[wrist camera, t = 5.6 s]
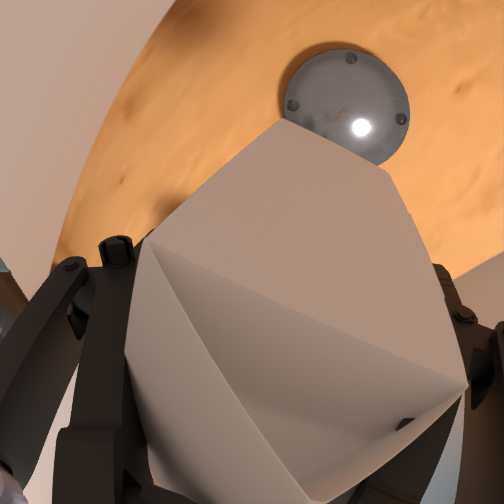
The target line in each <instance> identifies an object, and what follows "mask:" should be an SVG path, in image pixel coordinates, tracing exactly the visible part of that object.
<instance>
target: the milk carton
mask: <svg viewBox="0 0 504 504" xmlns="http://www.w3.org/2000/svg"><path fill="white" fill-rule="evenodd" d="M124 353H125V357H126V362H127V367H128V371H129V376H130V380H131V385H132V389H133V393H134V397H135V401H136V405H137V409H138V413H139V417H140V420H141V424H142V428H143V431H144V435H145V438H146V441H147V445H148V461H149V467H150V469H151V471H152V473H153V474H154V476H155V478H156V479H157V481H158V483H159V485H160V486H161V488H164V489H167V490H170V491H173V492H175V493H178V494H181V495H184V496H186V497H187V498H189V499H191V500H192V501H194V502H196V503H198V504H347V502H348V501H349V499H350V498H351V496H352V495H353V493H354V492H355V490H356V489H357V487H358V485H359V484H360V482H361V481H362V480H363V479H365V478H366V477H368V476H369V475H370V474H372V473H373V472H375V471H376V470H377V469H379V468H380V467H381V466H383V465H384V464H385V463H387V462H388V461H389V460H390V459H392V458H393V457H394V456H395V455H397V454H398V453H399V452H400V451H402V450H403V449H404V448H405V447H407V446H408V445H409V444H410V443H411V442H412V441H414V440H415V439H416V438H417V437H418V436H419V435H420V434H422V433H423V432H424V431H425V430H426V429H427V428H428V427H429V426H430V425H432V424H433V423H434V422H435V421H436V420H437V419H438V418H439V417H440V416H441V415H442V414H443V413H444V412H445V411H446V410H447V409H448V408H449V407H450V406H451V405H452V404H453V403H454V402H455V401H456V400H457V399H458V398H459V397H460V396H461V395H462V394H463V392H464V391H465V390H466V389H467V388H468V386H469V384H468V382H467V377H466V372H465V368H464V363H463V359H462V356H461V352H460V348H459V345H458V341H457V338H456V334H455V331H454V328H453V325H452V322H451V318H450V315H449V312H448V309H447V306H446V304H445V301H444V298H443V295H442V292H441V289H440V287H439V284H438V281H437V279H436V276H435V273H434V271H433V268H432V266H431V263H430V261H429V258H428V256H427V253H426V251H425V249H424V246H423V244H422V242H421V239H420V237H419V235H418V232H417V230H416V228H415V226H414V224H413V221H412V219H411V217H410V215H409V213H408V211H407V209H406V207H405V204H404V202H403V200H402V198H401V196H400V194H399V192H398V190H397V188H396V186H395V184H394V182H393V181H392V179H391V177H390V175H389V173H388V172H386V171H385V170H383V169H381V168H380V167H378V166H376V165H374V164H373V163H371V162H369V161H367V160H365V159H364V158H362V157H360V156H358V155H356V154H354V153H353V152H351V151H349V150H347V149H345V148H343V147H341V146H339V145H337V144H335V143H334V142H332V141H330V140H328V139H326V138H324V137H322V136H320V135H318V134H315V133H313V132H311V131H309V130H307V129H305V128H303V127H301V126H299V125H297V124H294V123H292V122H290V121H288V120H286V119H283V118H281V119H280V120H278V121H277V122H276V123H275V124H273V125H272V126H271V127H270V128H268V129H267V130H266V131H265V132H264V133H262V134H261V135H260V136H259V137H257V138H256V139H255V140H254V141H253V142H251V143H250V144H249V145H248V146H247V147H245V148H244V149H243V150H242V151H241V152H239V153H238V154H237V155H236V156H235V157H234V158H232V159H231V160H230V161H229V162H228V163H227V164H225V165H224V166H223V167H222V168H221V169H220V170H219V171H217V172H216V173H215V174H214V175H213V176H212V177H211V178H209V179H208V180H207V181H206V182H205V183H204V184H203V185H202V186H200V187H199V188H198V189H197V190H196V191H195V192H194V193H193V194H192V195H191V196H189V197H188V198H187V199H186V200H185V201H184V202H183V203H182V204H181V205H180V206H179V207H178V208H176V209H175V210H174V211H173V212H172V213H171V214H170V215H169V216H168V217H167V218H166V219H165V220H164V221H163V222H162V223H161V224H160V225H159V226H157V227H156V228H155V229H154V230H153V231H152V232H151V233H150V234H149V235H148V236H147V237H146V238H144V240H143V243H142V247H141V251H140V256H139V261H138V266H137V271H136V276H135V282H134V288H133V294H132V300H131V306H130V313H129V320H128V327H127V335H126V342H125V351H124ZM403 418H415V419H414V420H413V421H412V422H410V423H409V424H407V425H406V426H404V427H403V428H401V429H400V430H398V431H397V432H396V428H397V427H398V425H399V424H400V422H401V421H402V419H403Z"/></svg>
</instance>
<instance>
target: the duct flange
mask: <svg viewBox="0 0 504 504" xmlns="http://www.w3.org/2000/svg"><path fill="white" fill-rule="evenodd" d="M284 115H285V119H286V120H288V121H290V122H292V123H294V124H297V125H299V126H301V127H303V128H305V129H307V130H309V131H311V132H313V133H315V134H318V135H320V136H322V137H324V138H326V139H328V140H330V141H332V142H334V143H335V144H337V145H339V146H341V147H343V148H345V149H347V150H349V151H351V152H353V153H354V154H356V155H358V156H360V157H362V158H364V159H365V160H367V161H369V162H371V163H373V164H374V165H376V166H378V165H380V164H382V163H383V162H385V161H386V160H388V159H389V158H390V157H391V156H392V155H393V154H394V153H395V152H396V151H397V150H398V149H399V147H400V146H401V144H402V143H403V140H404V138H405V136H406V134H407V131H408V127H409V121H410V108H409V102H408V97H407V94H406V92H405V89H404V87H403V85H402V83H401V81H400V80H399V79H398V77H397V76H396V74H395V73H394V72H393V71H392V70H391V69H390V68H389V67H388V66H387V65H385V64H384V63H383V62H382V61H380V60H378V59H377V58H375V57H373V56H371V55H369V54H366V53H363V52H360V51H355V50H348V49H339V50H331V51H326V52H323V53H321V54H318V55H316V56H314V57H312V58H310V59H309V60H308V61H306V62H305V63H304V64H303V65H302V66H301V67H300V68H298V70H297V71H296V72H295V74H294V75H293V77H292V78H291V80H290V82H289V84H288V87H287V90H286V94H285V99H284Z"/></svg>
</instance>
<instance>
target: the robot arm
mask: <svg viewBox="0 0 504 504" xmlns="http://www.w3.org/2000/svg"><path fill="white" fill-rule="evenodd" d="M409 215H410V217H411V214H410V213H409ZM411 219H412V217H411ZM412 221H413V219H412ZM413 224H414V226H415V228H416V230H417V227H416V225H415V223H414V221H413ZM153 230H154V229H153ZM153 230H151V231H150V232H149V233H148V234H147V235H146V236H145V237H144V238H146V237H147V236H148V235H149V234H150V233H151V232H152V231H153ZM417 232H418V230H417ZM418 235H419V237H420V239H421V242H422V244H423V246H424V249H425V251H426V253H427V256H428V258H429V261H430V263H431V266H432V268H433V271H434V273H435V276H436V279H437V281H438V284H439V287H440V289H441V292H442V295H443V298H444V301H445V304H446V306H447V309H448V312H449V315H450V318H451V322H452V325H453V328H454V331H455V334H456V338H457V341H458V345H459V348H460V352H461V356H462V359H463V363H464V368H465V372H466V377H467V382H468V384H469V386H468V388H467V389H466V390H465V408H464V430H463V444H462V455H461V464H460V472H459V479H458V486H457V493H456V498H455V503H454V504H504V321H501V322H499V323H498V324H497V325H496V327H495V329H494V330H492V329H490V328H487V327H485V326H482V325H480V324H478V318H477V317H476V315H475V313H474V312H473V311H472V310H471V309H469V308H467V307H465V306H463V305H462V303H461V300H460V298H459V295H458V293H457V290H456V288H454V287H455V286H454V284H453V282H452V279H451V276H450V274H449V272H448V271H447V270H446V269H445V268H444V267H443V266H442V265H440V264H433V263H432V262H431V260H430V257H429V255H428V252H427V250H426V248H425V245H424V243H423V241H422V238H421V236H420V234H419V232H418ZM144 238H143V239H142V240H141V241H140V242H139V243H138V244H137V245H136V246H135V247H134V248H133V244H132V239H131V238H130V237H128V236H124V235H117V236H112V237H109V238H107V239H105V240H103V241H102V242H101V243H100V244H99V245H98V247H99V251H100V256H101V260H102V264H103V266H102V267H88V266H87V263H86V259H84V258H83V257H79V256H75V257H74V256H73V257H69V258H66V259H65V260H63V261H62V262H60V263H59V264H58V265H57V267H56V268H55V269H54V270H53V272H52V273H51V274H50V275H49V277H48V278H47V279H46V280H45V282H44V283H43V284H42V286H41V287H40V288H39V290H38V291H37V292H36V293H35V295H34V296H33V297H32V299H31V300H30V301H28V299H27V298H26V296H25V295H24V293H23V292H22V290H21V289H20V287H19V286H18V284H17V282H16V281H15V279H14V278H13V276H12V274H11V271H10V270H9V269H8V268H7V267H6V265H5V264H4V262H3V260H2V259H1V258H0V504H28V501H27V499H26V497H25V496H23V490H24V488H25V487H26V485H27V483H28V482H29V480H30V478H31V476H32V474H33V472H34V470H35V467H36V465H37V462H38V460H39V457H40V454H41V451H42V449H43V446H44V443H45V441H46V438H47V435H48V433H49V430H50V428H51V425H52V422H53V420H54V418H55V415H56V413H57V410H58V408H59V406H60V403H61V401H62V399H63V396H64V394H65V392H66V389H67V387H68V385H69V383H70V380H71V378H72V376H73V374H74V371H75V369H76V367H77V365H78V363H79V366H78V372H77V377H76V383H75V390H74V396H73V403H72V411H71V418H70V424H69V426H68V427H66V428H61V429H60V431H59V432H58V436H57V440H56V449H55V460H54V472H53V488H52V489H53V490H52V504H198V503H196V502H194V501H192V500H191V499H189V498H187V497H186V496H184V495H181V494H178V493H175V492H173V491H170V490H167V489H164V488H161V487H158V486H156V485H154V483H153V479H152V475H151V472H150V468H149V461H148V445H147V441H146V438H145V435H144V431H143V428H142V424H141V420H140V417H139V413H138V409H137V405H136V401H135V397H134V393H133V389H132V385H131V380H130V376H129V371H128V367H127V362H126V357H125V353H124V351H125V342H126V335H127V327H128V320H129V313H130V306H131V300H132V294H133V288H134V282H135V276H136V271H137V266H138V261H139V256H140V251H141V247H142V243H143V240H144ZM461 396H462V395H461ZM461 396H460V397H459V398H458V399H457V400H456V401H455V402H454V403H453V404H452V405H451V406H450V407H449V408H448V409H447V410H446V411H445V412H444V413H443V414H442V415H441V416H440V417H439V418H438V419H437V420H436V421H435V422H434V423H433V424H432V425H430V426H429V427H428V428H427V429H426V430H425V431H424V432H423V433H422V434H420V435H419V436H418V437H417V438H416V439H415V440H414V441H412V442H411V443H410V444H409V445H408V446H407V447H405V448H404V449H403V450H402V451H400V452H399V453H398V454H397V455H395V456H394V457H393V458H392V459H390V460H389V461H388V462H387V463H385V464H384V465H383V466H381V467H380V468H379V469H377V470H376V471H375V472H373V473H372V474H370V475H369V476H368V477H366V478H365V479H363V480H362V481H361V482H360V484H359V485H358V487H357V489H356V490H355V492H354V493H353V495H352V496H351V498H350V499H349V501H348V502H347V504H420V502H421V499H422V497H423V495H424V493H425V491H426V489H427V487H428V485H429V483H430V480H431V478H432V476H433V474H434V471H435V469H436V467H437V464H438V462H439V460H440V457H441V455H442V452H443V450H444V447H445V444H446V442H447V439H448V436H449V434H450V431H451V428H452V425H453V422H454V418H455V416H456V413H457V410H458V406H459V403H460V400H461ZM414 419H415V418H403V419H402V421H401V422H400V424H399V425H398V427H397V428H396V432H397V431H398V430H400V429H401V428H403V427H404V426H406V425H407V424H409V423H410V422H412V421H413V420H414Z"/></svg>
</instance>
